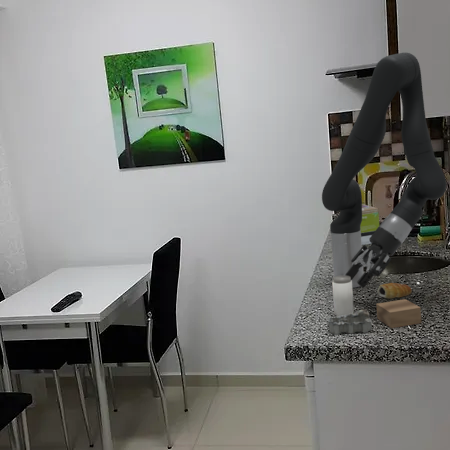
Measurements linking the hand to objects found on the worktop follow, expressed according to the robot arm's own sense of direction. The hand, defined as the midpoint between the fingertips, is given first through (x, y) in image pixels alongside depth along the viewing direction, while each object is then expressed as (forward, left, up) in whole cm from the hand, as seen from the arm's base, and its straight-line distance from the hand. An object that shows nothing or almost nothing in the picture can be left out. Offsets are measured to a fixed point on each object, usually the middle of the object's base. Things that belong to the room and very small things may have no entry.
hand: (353, 281), depth 158 cm
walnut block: (+12, +7, -8) cm, 16 cm away
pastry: (-9, +15, -9) cm, 20 cm away
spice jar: (0, -3, -8) cm, 9 cm away
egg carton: (+12, -6, -9) cm, 16 cm away
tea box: (-86, +39, -9) cm, 95 cm away
